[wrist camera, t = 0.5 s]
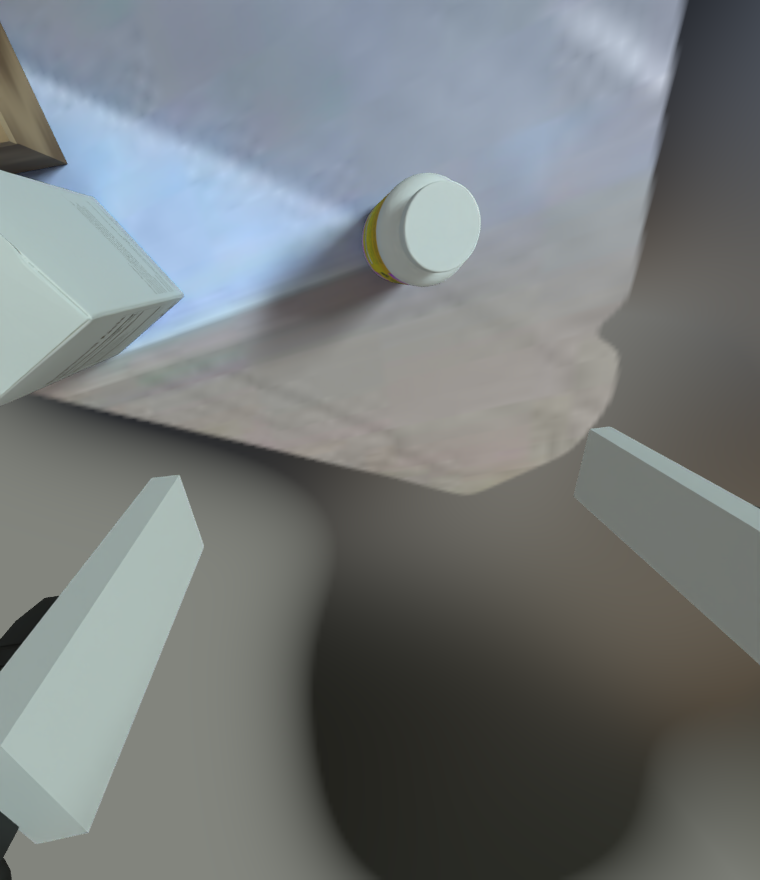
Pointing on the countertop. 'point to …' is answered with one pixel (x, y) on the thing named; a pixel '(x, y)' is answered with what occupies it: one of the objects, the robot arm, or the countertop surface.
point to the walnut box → (22, 120)
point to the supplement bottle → (421, 231)
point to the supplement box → (68, 285)
